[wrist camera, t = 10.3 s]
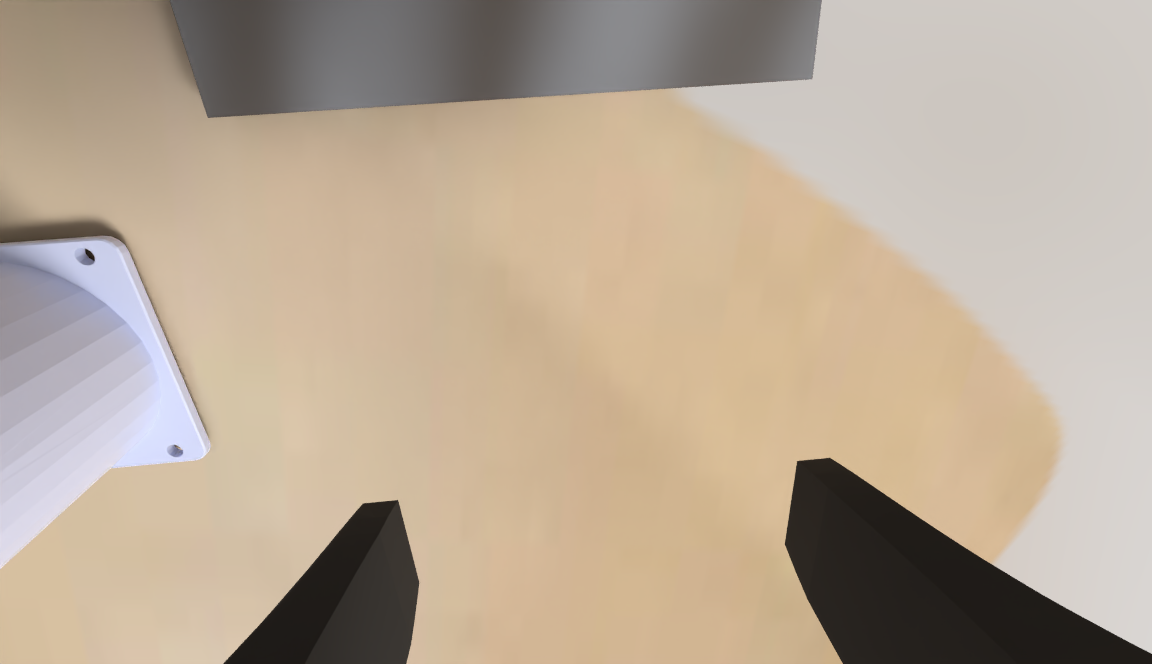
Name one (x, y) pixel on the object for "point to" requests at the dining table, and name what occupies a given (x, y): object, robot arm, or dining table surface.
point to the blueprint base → (481, 49)
